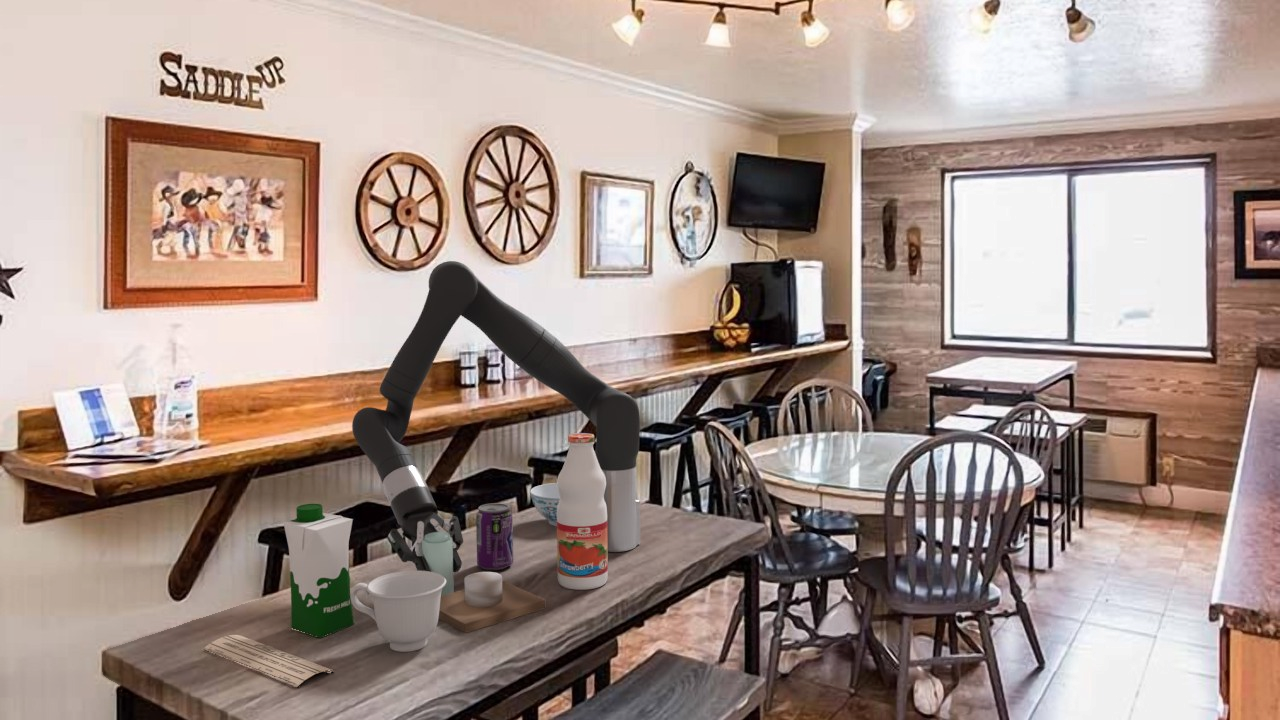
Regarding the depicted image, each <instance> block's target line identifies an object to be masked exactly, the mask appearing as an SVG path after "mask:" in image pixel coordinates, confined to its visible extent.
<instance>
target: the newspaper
mask: <svg viewBox="0 0 1280 720" xmlns="http://www.w3.org/2000/svg"><path fill="white" fill-rule="evenodd" d="M203 649H205V650H208V651H210V652H213V653H215V654H218V655H221V656H223V657H225V658H228V659H230V660H233V661H236V662H239V663H241V664H244V665H246V666H249V667H252V668H254V669H256V670H259V671H262V672H264V673H267V674H270V675H272V676H274V677H278V678H280V679H283V680H285V681H288V682H290V683H293V684H296V685H298V686H299V685H301V684H302V683H304V681H306V680H308V679H310V678H311V677H313V676H314V675H316V674H319V673H324V671H325V672H330V671H332V672H335V671H334V669H332V668H329V667H326V666H323V665H320V664H317V663H315V662H312V661H309V660H306V658H305V659H304V658H301V657H299V656H296V655H293V654H291V653H288V652H285V651H283V650H280V649H277V648H274V647H272V646H269V645H267V644H264V643H261V642H259V641H256V640H254V639H250V638H248V637H246V636H243V635H241V634H230V635H226V636H222V637H220V638H218V639H216V640H215V639H214V640H213V641H211V642H209V643H208V644H207V645H206V646H204V647H203ZM205 650H204V651H205ZM210 652H209V653H210ZM215 654H214V655H215ZM328 670H330V671H328ZM299 687H300V686H299Z"/></svg>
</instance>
